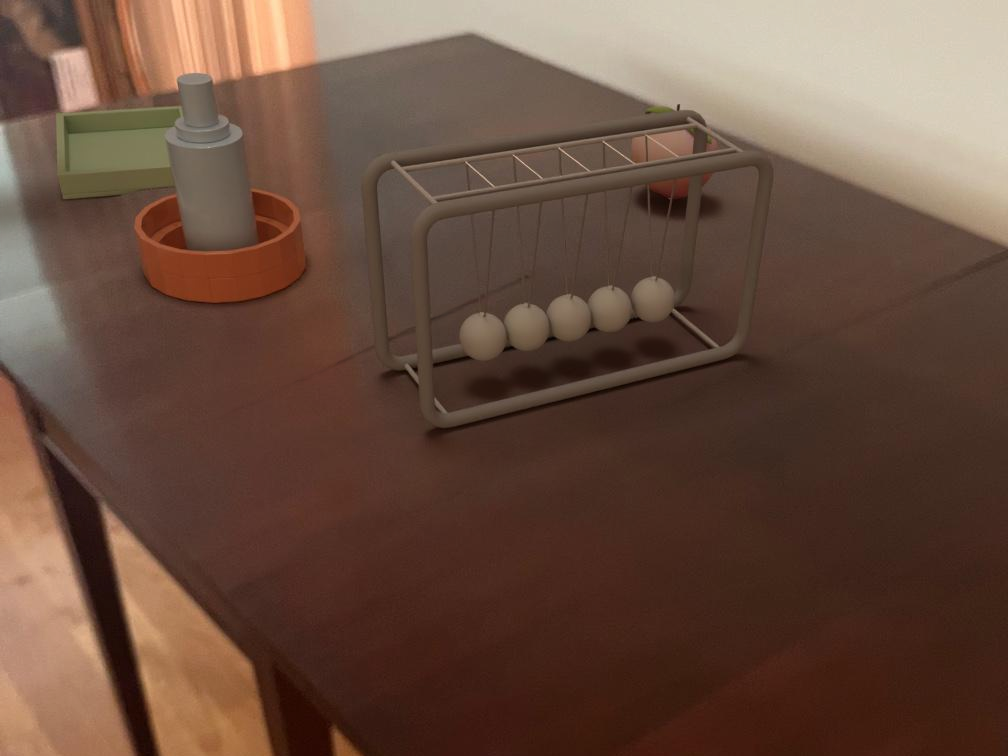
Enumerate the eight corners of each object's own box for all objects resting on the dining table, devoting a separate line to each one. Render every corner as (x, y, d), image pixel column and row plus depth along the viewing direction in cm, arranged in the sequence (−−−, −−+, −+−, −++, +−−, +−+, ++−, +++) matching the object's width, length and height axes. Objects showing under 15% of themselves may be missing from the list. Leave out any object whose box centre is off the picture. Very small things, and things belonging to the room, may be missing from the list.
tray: (204, 188, 121) (199, 164, 119) (63, 199, 117) (57, 175, 115) (189, 127, 133) (185, 105, 131) (61, 136, 129) (55, 113, 127)
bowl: (208, 324, 100) (198, 269, 96) (114, 269, 106) (102, 216, 103) (338, 272, 108) (332, 220, 105) (243, 224, 115) (235, 174, 111)
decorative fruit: (609, 200, 124) (615, 103, 117) (654, 178, 129) (662, 84, 122) (682, 226, 120) (692, 127, 113) (725, 202, 125) (737, 106, 118)
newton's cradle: (684, 303, 107) (706, 104, 95) (748, 356, 100) (780, 149, 89) (375, 371, 95) (356, 154, 84) (424, 436, 89) (412, 210, 77)
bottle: (218, 288, 104) (184, 97, 93) (175, 265, 106) (137, 76, 96) (276, 266, 107) (250, 79, 96) (234, 244, 110) (204, 60, 99)
